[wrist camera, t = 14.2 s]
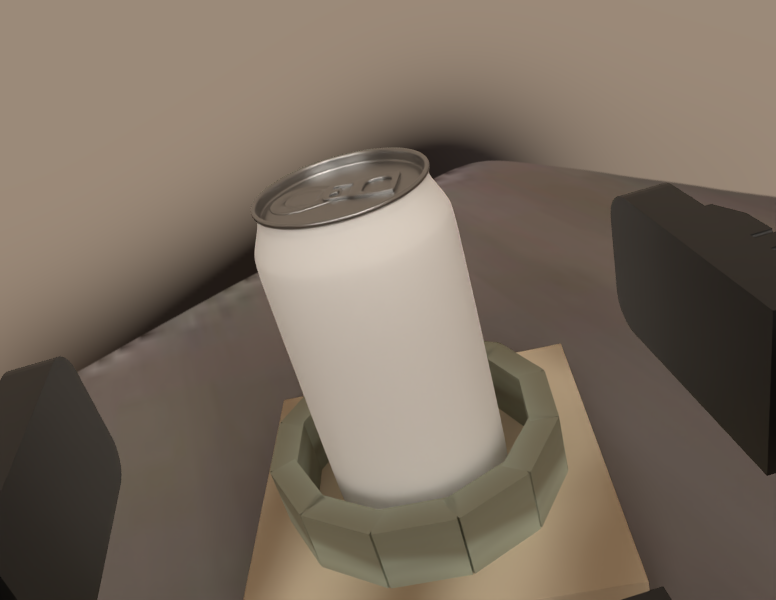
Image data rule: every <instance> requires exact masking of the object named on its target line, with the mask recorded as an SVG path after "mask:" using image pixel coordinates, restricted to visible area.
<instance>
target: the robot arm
mask: <svg viewBox="0 0 776 600" xmlns="http://www.w3.org/2000/svg"><path fill="white" fill-rule="evenodd" d="M611 225H612V237H613V248H614V260H615V272H616V284H617V294H618V299H619V303H620V307H621V310H622V312H623V315H624V317H625V319H626V321H627V323H628V325H629V327H630V328H631V330H632V331H633V332H634V333H635V334H636V335H637V336H638V338H639V339H640V340H641V341H642V342H643V343H644V344H645V345H646V346H647V347H648V348H649V349H650V350H651V352H652V353H653V354H654V355H655V356H656V357H657V358H658V359H659V360H660V361H661V362H662V363H663V364H664V365H665V367H666V368H667V369H668V370H669V371H670V372H671V373H672V374H673V375H674V376H675V377H676V378H677V379H678V381H679V382H680V383H681V384H682V385H683V386H684V387H685V388H686V389H687V390H688V391H689V392H690V393H691V394H692V396H693V397H694V398H695V399H696V400H697V401H698V402H699V403H700V404H701V405H702V406H703V407H704V408H705V410H706V411H707V412H708V413H709V414H710V415H711V416H712V417H713V418H714V419H715V420H716V421H717V422H718V423H719V425H720V426H721V427H722V428H723V429H724V430H725V431H726V432H727V433H728V434H729V435H730V436H731V437H732V439H733V440H734V441H735V442H736V443H737V444H738V445H739V446H740V447H741V448H742V449H743V450H744V451H745V452H746V454H747V455H748V456H749V457H750V458H751V459H752V460H753V461H754V462H755V463H756V464H757V465H758V466H759V468H760V469H761V470H762V471H763V472H764V473H765V474H766V475H767V476H768V475H771V474H774V473H776V232H774V233H773V231H772V228H770V227H769V226H767V225H765V224H764V223H762V222H760V221H759V220H757V219H755V218H754V217H752V216H750V215H749V214H747V213H744V212H740V211H736V210H732V209H728V208H724V207H720V206H717V205H713V204H710V205H706V206H704V205H703V204H701V203H700V202H698V201H696V200H695V199H693V198H692V197H690V196H689V195H687V194H686V193H684V192H682V191H681V190H679V189H678V188H676V187H675V186H673V185H671V184H669V183H663V184H659V185H656V186H652V187H649V188H645V189H642V190H638V191H635V192H631V193H628V194H625V195H621V196H618V197H616V198H614V200H613V202H612V205H611ZM120 485H121V465H120V460H119V455H118V452H117V449H116V446H115V443H114V441H113V439H112V437H111V435H110V433H109V431H108V429H107V427H106V426H105V424H104V422H103V420H102V418H101V416H100V414H99V413H98V411H97V409H96V407H95V405H94V403H93V401H92V399H91V398H90V396H89V394H88V392H87V390H86V388H85V386H84V385H83V383H82V381H81V379H80V377H79V375H78V373H77V372H76V370H75V368H74V367H73V365H72V364H71V363H70V362H69V361H68V360H67V359H66V358H64V357H56V358H53V359H49V360H46V361H42V362H39V363H35V364H32V365H28V366H25V367H21V368H18V369H15V370H11V371H8V372H6V373H5V374H4V375H3V376H2V378H1V380H0V600H97V598H98V593H99V588H100V583H101V578H102V573H103V568H104V563H105V558H106V553H107V549H108V544H109V539H110V534H111V529H112V524H113V519H114V514H115V509H116V504H117V499H118V495H119V490H120ZM621 600H671V598H670V596H669V595H668V593H667V592H666V590H665V588H664V587H659V588H656V589H653V590H650V591H647V592H644V593H640V594H637V595H634V596H631V597H628V598H625V599H621Z"/></svg>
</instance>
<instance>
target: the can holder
mask: <svg viewBox="0 0 776 600" xmlns="http://www.w3.org/2000/svg"><path fill="white" fill-rule="evenodd" d="M484 345H485V350H486V354H487V359H488V363H489V368H490V372H491V377H492V381H493V386H494V390H495V395H496V400H497V404H498V409H499V413H500V418H501V423H502V428H503V432H504V437H505V442H506V448H507V457H506V459H505V461H504V462H502V463H501V464H499V465H498V466H496V467H494V468H493V469H491V470H490V471H488V472H487V473H485V474H483V475H482V476H480V477H479V478H477V479H475V480H474V481H472V482H471V483H469V484H468V485H466V486H464V487H463V488H461V489H460V490H458V491H457V492H455V493H453V494H452V495H450V496H449V497H445V498H440V499H434V500H429V501H423V502H418V503H412V504H407V505H401V506H396V507H390V508H385V509H379V510H378V509H374V508H371V507H367V506H363V505H359V504H355V503H351V502H347V501H345V500H344V498H343V496H342V493H341V491H340V488H339V486H338V483H337V481H336V478H335V476H334V473H333V471H332V468H331V465H330V463H329V460H328V458H327V455H326V452H325V450H324V447H323V445H322V442H321V439H320V437H319V434H318V431H317V429H316V426H315V424H314V421H313V418H312V416H311V413H310V410H309V408H308V405H307V403H306V400H305V397H304V396H302V397H297V398H292V399H287V400H284V403H283V408H282V413H281V418H280V422H279V427H278V432H277V437H276V442H275V447H274V452H273V457H272V462H271V467H270V471H269V476H268V481H267V486H266V491H265V496H264V501H263V506H262V511H261V516H260V520H259V525H258V530H257V535H256V540H255V545H254V550H253V555H252V560H251V565H250V569H249V574H248V579H247V584H246V589H245V594H244V599H243V600H621V599H625V598H628V597H631V596H634V595H637V594H640V593H644V592H647V591H650V590H649V581H648V579H647V576H646V573H645V571H644V568H643V565H642V562H641V560H640V557H639V554H638V552H637V549H636V546H635V543H634V541H633V538H632V535H631V533H630V530H629V527H628V524H627V522H626V519H625V516H624V514H623V511H622V508H621V505H620V503H619V500H618V497H617V495H616V492H615V489H614V487H613V484H612V481H611V478H610V476H609V473H608V470H607V468H606V465H605V462H604V459H603V457H602V454H601V451H600V449H599V446H598V443H597V440H596V438H595V435H594V432H593V430H592V427H591V424H590V422H589V419H588V416H587V413H586V411H585V408H584V405H583V403H582V400H581V397H580V394H579V392H578V389H577V386H576V384H575V381H574V378H573V375H572V373H571V370H570V367H569V365H568V362H567V359H566V357H565V354H564V351H563V348H562V346H561V344H556V345H551V346H546V347H542V348H537V349H532V350H527V351H522V352H517V353H516V352H514V351H512V350H511V349H509V348H507V347H506V346H504V345H502V344H501V343H498V342H488V341H484Z"/></svg>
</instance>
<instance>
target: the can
mask: <svg viewBox="0 0 776 600" xmlns="http://www.w3.org/2000/svg"><path fill="white" fill-rule="evenodd" d="M251 215H252V218H253V219H254V220H255V221H256V222H257V235H256V244H255V262H256V266H257V270H258V273H259V276H260V279H261V282H262V285H263V288H264V290H265V293H266V296H267V299H268V301H269V304H270V307H271V309H272V312H273V315H274V317H275V320H276V323H277V326H278V328H279V331H280V334H281V336H282V339H283V342H284V344H285V347H286V350H287V352H288V355H289V358H290V360H291V363H292V365H293V368H294V371H295V373H296V376H297V379H298V381H299V384H300V387H301V389H302V392H303V395H304V397H305V400H306V403H307V405H308V408H309V410H310V413H311V416H312V418H313V421H314V424H315V426H316V429H317V431H318V434H319V437H320V439H321V442H322V445H323V447H324V450H325V452H326V455H327V458H328V460H329V463H330V465H331V468H332V471H333V473H334V476H335V478H336V481H337V483H338V486H339V488H340V491H341V493H342V496H343V498H344V500H345V501H347V502H351V503H355V504H359V505H363V506H367V507H371V508H374V509H378V510H379V509H385V508H390V507H396V506H401V505H407V504H412V503H418V502H423V501H429V500H434V499H440V498H445V497H449V496H450V495H452V494H453V493H455V492H457V491H458V490H460V489H461V488H463V487H464V486H466V485H468V484H469V483H471V482H472V481H474V480H475V479H477V478H479V477H480V476H482V475H483V474H485V473H487V472H488V471H490V470H491V469H493V468H494V467H496V466H498V465H499V464H501V463H502V462H504V461H505V459H506V457H507V448H506V442H505V437H504V432H503V428H502V423H501V418H500V413H499V409H498V404H497V400H496V395H495V390H494V386H493V381H492V377H491V372H490V368H489V363H488V359H487V354H486V350H485V345H484V341H483V336H482V332H481V327H480V323H479V318H478V314H477V309H476V305H475V300H474V296H473V291H472V287H471V283H470V278H469V274H468V269H467V265H466V261H465V256H464V252H463V248H462V243H461V239H460V235H459V230H458V226H457V222H456V219H455V215H454V211H453V208H452V205H451V202H450V200H449V199H448V197H447V196H446V194H445V193H444V192H443V190H442V189H441V188H440V187H439V186H438V184H437V183H436V182H435V181H434V180H433V179H432V177H431V176H430V174H429V161H428V160H427V158H426V156H424V155H423V154H422V153H420V152H417V151H415V150H411V149H405V148H376V149H368V150H361V151H356V152H351V153H346V154H342V155H338V156H334V157H331V158H328V159H325V160H321V161H319V162H316V163H313V164H310V165H308V166H306V167H303V168H301V169H299V170H296V171H294V172H292V173H290V174H288V175H286V176H284V177H282V178H280V179H279V180H277V181H276V182H274V183H273V184H271V185H270V186H268V187H267V188H266V189H264V190H263V191H262V192H261V193H260V194H259V195H258V196H257V197H256V199H255V200H254V201H253V203H252V206H251Z"/></svg>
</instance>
